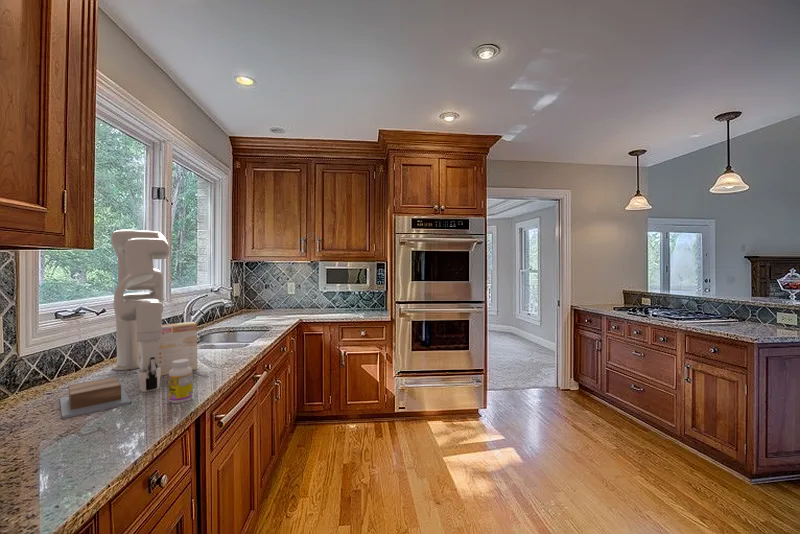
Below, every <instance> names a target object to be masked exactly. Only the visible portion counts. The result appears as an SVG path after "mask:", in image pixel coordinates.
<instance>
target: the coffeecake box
mask: <svg viewBox="0 0 800 534" xmlns="http://www.w3.org/2000/svg"><path fill="white" fill-rule="evenodd" d="M179 359H188V360H189V364H188V367H191V368H192V371H195V370H198V369H199V368H198V363H199V362H198V323H197V322H195V321H187V322H186V321H185V322H177V323H167V324H162V339H161V340H159V367H161V374H160V377H161V376H167V375H169V371H170V370H171V369H173V366H172V361H175V360H179Z"/></svg>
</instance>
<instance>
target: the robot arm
mask: <svg viewBox="0 0 800 534" xmlns="http://www.w3.org/2000/svg"><path fill="white" fill-rule="evenodd" d="M110 238H111V245H112V248H113V250H114V252H115V254H116V257H117V277H118V278H117V282H118V283H117V284H118V285H117V286H116V287H115V290H114V293H113V304H112V306H113V310H114V314H115V315H114V316H115V323H116V324H115V326H116V327H115V328H116V364H113V365H112V367H111V369H112V370H114V371H127V370H135V369H139V370H140V369H141V370H142V371H145V370H146V372H147V379H146V390H152V389H156V388H157V371H156V369H157V368H158V367H159V340H161V339H162V325H163V322H162V321H163V319H162V317H163V316H162V314H163V311H164V305H163V304H164V277H163V273H162V271H161V270H159V269H157V268H155V267H154V261H153V260H166V259H167V258H168V257H169V255H170V246H169V243H168V241H167V240H168V239H166V237H165V236H164V235H163V234H162V232H160V231H155V230H154V231H153V230H139V229H138V230H137V229H119V230H115V231H113V232H112V233H111V236H110ZM126 291H127V292H133V293H126ZM135 291H139V292H135ZM140 291H149V292H140ZM134 292H135V293H134ZM150 367H151V369H148V368H150ZM149 371H151V372H150V373H149ZM156 390H157V389H156Z"/></svg>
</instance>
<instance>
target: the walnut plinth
mask: <svg viewBox="0 0 800 534" xmlns="http://www.w3.org/2000/svg"><path fill="white" fill-rule="evenodd" d="M121 386H122V384H121V382H120V380H118V378H117V376H113V377H108V378H102V379H97V380H91V381H86V382H79V383H74V384H73V383H72V384H68V396H69V403H70V409H71V410H74V409H79V408H83V407H88V406H93V405H97V404H102V403H107V402H111V401H116V400H121Z"/></svg>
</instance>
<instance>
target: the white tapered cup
mask: <svg viewBox="0 0 800 534" xmlns="http://www.w3.org/2000/svg"><path fill="white" fill-rule="evenodd" d="M148 369H151V367H150V368H148ZM156 371H157V388H156V389H152V390H146V379H147V372H146V370H145V371H142V370H141V369H140V368H139V369H138V370H137V377H138V386H139V391H140V392H144V393H145V392H146V393H147V392H152V391H157V390H158V389H160V385H161V384H160V383H161V376H160V374H161V367H158V368H157V369H156ZM150 372H151V371H149V373H150Z"/></svg>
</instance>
